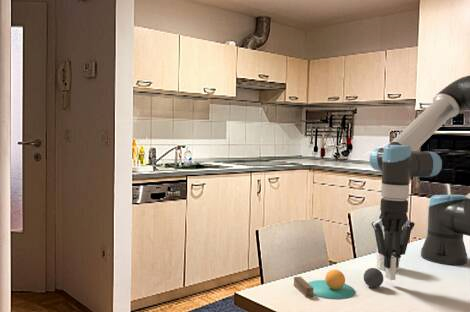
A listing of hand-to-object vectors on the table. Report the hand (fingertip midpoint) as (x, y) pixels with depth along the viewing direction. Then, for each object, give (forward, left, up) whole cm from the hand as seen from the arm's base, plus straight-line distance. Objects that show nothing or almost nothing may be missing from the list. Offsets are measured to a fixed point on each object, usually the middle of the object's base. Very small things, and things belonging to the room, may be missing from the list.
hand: (390, 278), depth 133 cm
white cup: (-9, -15, -2) cm, 17 cm away
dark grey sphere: (+6, 0, +1) cm, 6 cm away
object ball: (+18, 0, +1) cm, 18 cm away
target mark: (+19, 0, -2) cm, 19 cm away
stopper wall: (+27, 0, -2) cm, 27 cm away
